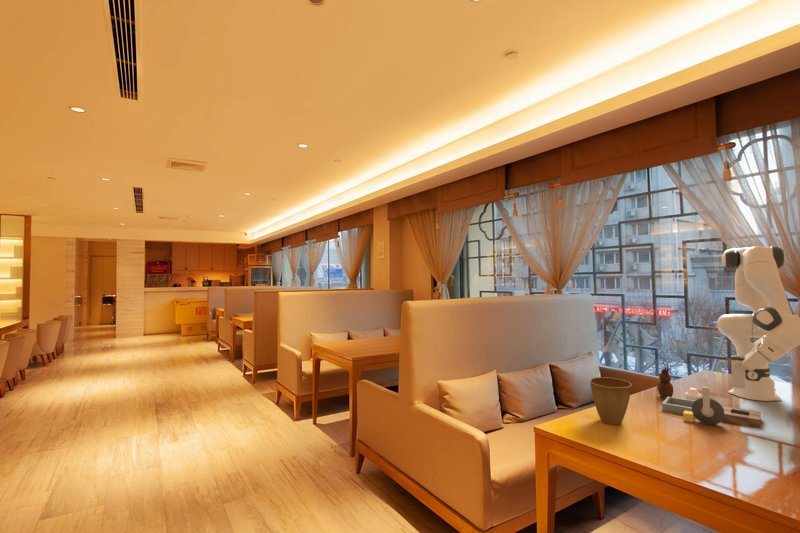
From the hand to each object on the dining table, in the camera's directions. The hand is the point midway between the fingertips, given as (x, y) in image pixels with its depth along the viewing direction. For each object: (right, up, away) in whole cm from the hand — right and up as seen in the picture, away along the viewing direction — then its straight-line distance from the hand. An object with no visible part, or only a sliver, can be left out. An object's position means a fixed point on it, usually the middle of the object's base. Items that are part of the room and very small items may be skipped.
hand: (736, 370), depth 163 cm
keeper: (+1, -19, -1) cm, 20 cm away
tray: (-13, -20, +12) cm, 27 cm away
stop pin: (+1, -6, -1) cm, 6 cm away
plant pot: (-51, -20, -1) cm, 55 cm away
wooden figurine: (-9, -21, +30) cm, 37 cm away
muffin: (-2, -20, +21) cm, 29 cm away
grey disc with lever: (-17, -20, -5) cm, 26 cm away
